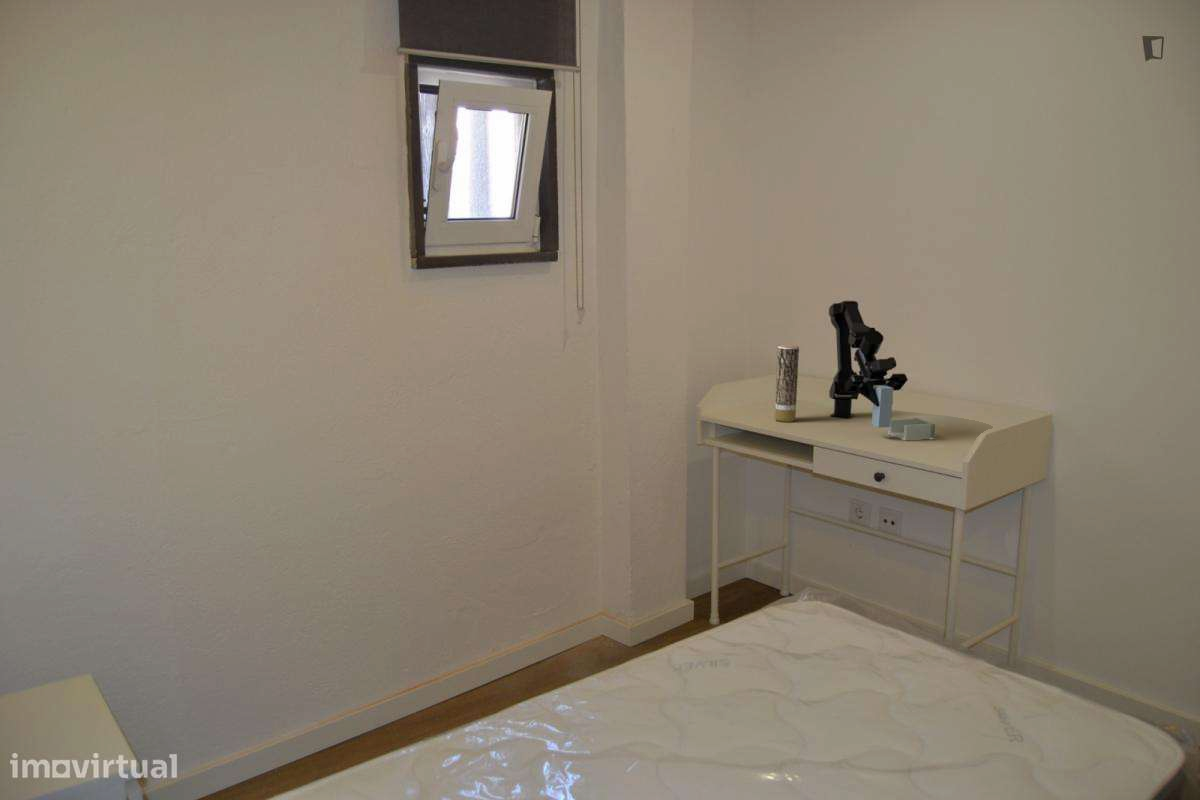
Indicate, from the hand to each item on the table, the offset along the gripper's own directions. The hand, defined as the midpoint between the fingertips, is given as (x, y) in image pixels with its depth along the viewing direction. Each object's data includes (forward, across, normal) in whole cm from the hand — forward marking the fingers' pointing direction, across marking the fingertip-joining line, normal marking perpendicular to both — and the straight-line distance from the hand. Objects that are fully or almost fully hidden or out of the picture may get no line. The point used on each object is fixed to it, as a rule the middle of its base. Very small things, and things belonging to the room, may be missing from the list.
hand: (884, 405), depth 264 cm
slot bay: (+6, +11, +8) cm, 15 cm away
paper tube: (-14, -18, +30) cm, 37 cm away
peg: (+4, 0, +6) cm, 7 cm away
